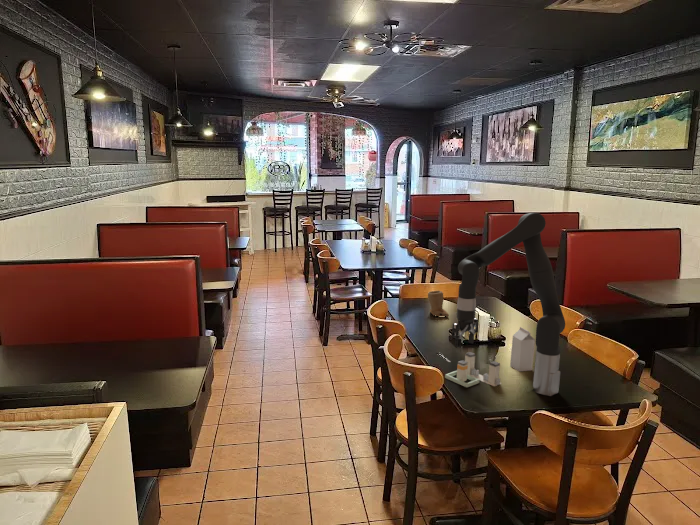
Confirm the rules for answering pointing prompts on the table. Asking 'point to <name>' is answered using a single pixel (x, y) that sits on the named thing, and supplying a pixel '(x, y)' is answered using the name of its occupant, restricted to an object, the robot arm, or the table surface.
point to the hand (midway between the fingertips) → (464, 344)
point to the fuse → (462, 370)
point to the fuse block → (492, 373)
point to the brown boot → (437, 303)
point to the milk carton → (522, 350)
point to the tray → (473, 381)
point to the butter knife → (445, 358)
